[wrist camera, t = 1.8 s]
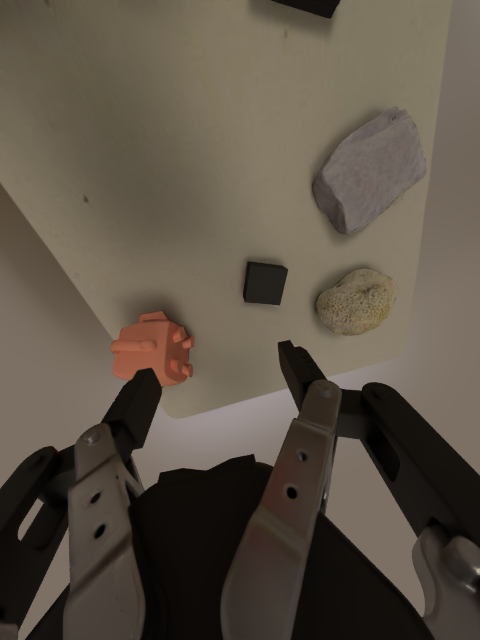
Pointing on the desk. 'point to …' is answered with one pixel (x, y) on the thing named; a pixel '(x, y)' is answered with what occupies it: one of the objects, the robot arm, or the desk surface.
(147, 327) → the pink piece
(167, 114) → the desk surface
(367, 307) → the decorative item
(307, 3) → the base pad
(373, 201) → the stone block
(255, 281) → the small pad
